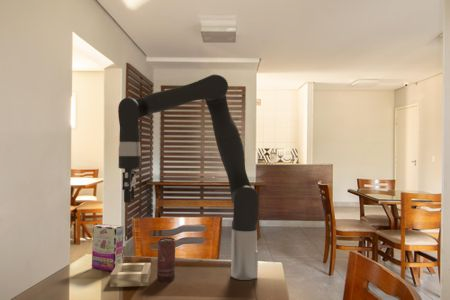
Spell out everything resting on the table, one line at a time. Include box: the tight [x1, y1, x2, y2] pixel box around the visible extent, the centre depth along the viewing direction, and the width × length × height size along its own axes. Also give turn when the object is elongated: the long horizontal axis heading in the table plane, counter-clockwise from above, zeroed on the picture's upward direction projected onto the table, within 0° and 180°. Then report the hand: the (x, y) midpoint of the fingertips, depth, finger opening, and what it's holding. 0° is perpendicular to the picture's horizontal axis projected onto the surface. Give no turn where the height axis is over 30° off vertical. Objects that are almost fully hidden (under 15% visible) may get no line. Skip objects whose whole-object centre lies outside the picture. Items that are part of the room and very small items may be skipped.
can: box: [156, 237, 176, 283], centre depth 120 cm, size 6×6×14 cm
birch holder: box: [109, 262, 152, 288], centre depth 118 cm, size 12×12×4 cm
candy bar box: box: [91, 223, 124, 273], centre depth 130 cm, size 11×5×16 cm, turn 68°
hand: (129, 200), depth 119 cm, fingers open, 8 cm apart
